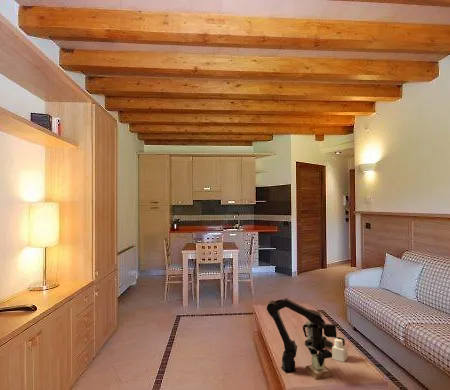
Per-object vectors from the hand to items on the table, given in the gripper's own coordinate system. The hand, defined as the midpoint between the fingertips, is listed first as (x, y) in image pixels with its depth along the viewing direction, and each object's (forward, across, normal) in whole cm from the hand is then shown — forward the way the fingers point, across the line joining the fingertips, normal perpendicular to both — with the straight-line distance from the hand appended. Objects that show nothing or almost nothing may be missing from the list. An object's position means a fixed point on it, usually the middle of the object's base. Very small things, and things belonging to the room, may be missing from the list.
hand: (318, 364), depth 176 cm
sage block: (+2, 0, 0) cm, 2 cm away
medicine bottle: (+5, +11, -22) cm, 25 cm away
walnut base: (+5, 0, 0) cm, 5 cm away
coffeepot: (+5, +31, -15) cm, 35 cm away
